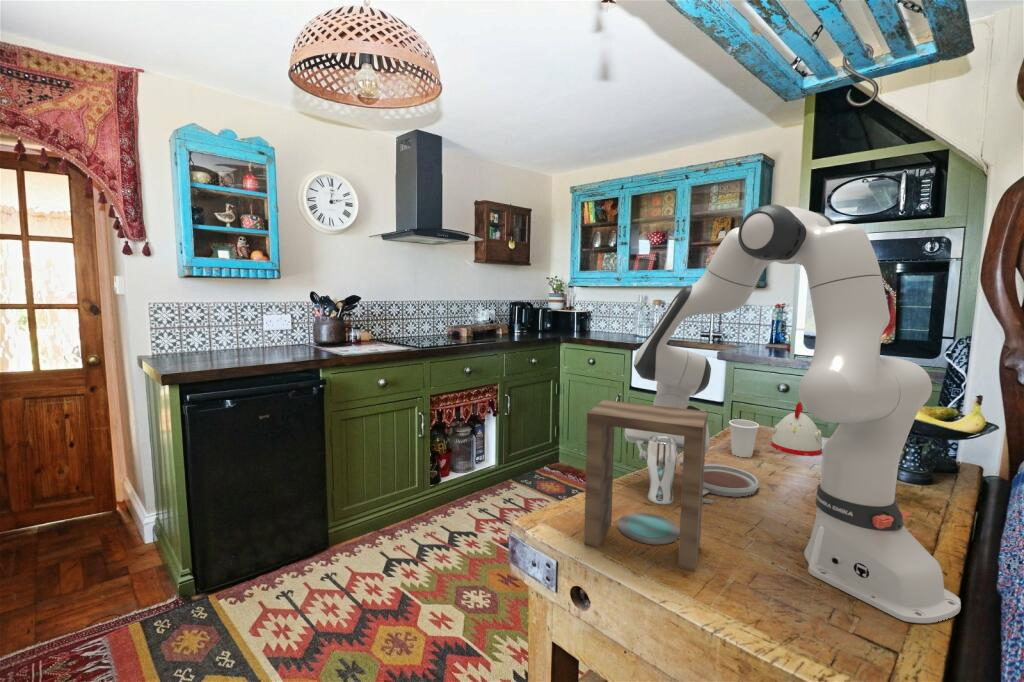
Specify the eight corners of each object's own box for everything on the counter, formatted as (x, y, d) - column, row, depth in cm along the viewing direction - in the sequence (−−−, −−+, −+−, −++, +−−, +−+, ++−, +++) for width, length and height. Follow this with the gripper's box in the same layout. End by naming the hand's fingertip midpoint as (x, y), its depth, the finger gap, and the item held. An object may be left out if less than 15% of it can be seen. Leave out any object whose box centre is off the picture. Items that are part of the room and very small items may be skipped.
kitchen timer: (766, 449, 153) (770, 403, 151) (776, 438, 163) (779, 395, 162) (818, 459, 144) (822, 410, 142) (824, 447, 155) (828, 402, 153)
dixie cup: (746, 461, 142) (748, 428, 141) (721, 452, 149) (723, 421, 148) (762, 456, 146) (765, 424, 145) (737, 448, 153) (739, 417, 152)
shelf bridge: (607, 506, 113) (611, 393, 110) (703, 525, 104) (710, 404, 101) (584, 543, 96) (587, 413, 93) (695, 571, 87) (702, 427, 84)
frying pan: (651, 485, 120) (709, 458, 137) (651, 496, 120) (708, 467, 138) (717, 510, 107) (771, 476, 124) (716, 522, 107) (770, 487, 125)
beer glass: (678, 497, 118) (681, 438, 116) (671, 508, 112) (674, 446, 110) (650, 490, 122) (652, 433, 120) (641, 500, 116) (644, 440, 114)
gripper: (627, 401, 126) (617, 449, 118) (711, 411, 117) (706, 463, 110) (630, 414, 131) (621, 460, 123) (711, 424, 122) (707, 474, 114)
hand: (662, 461), depth 116 cm, fingers open, 8 cm apart
